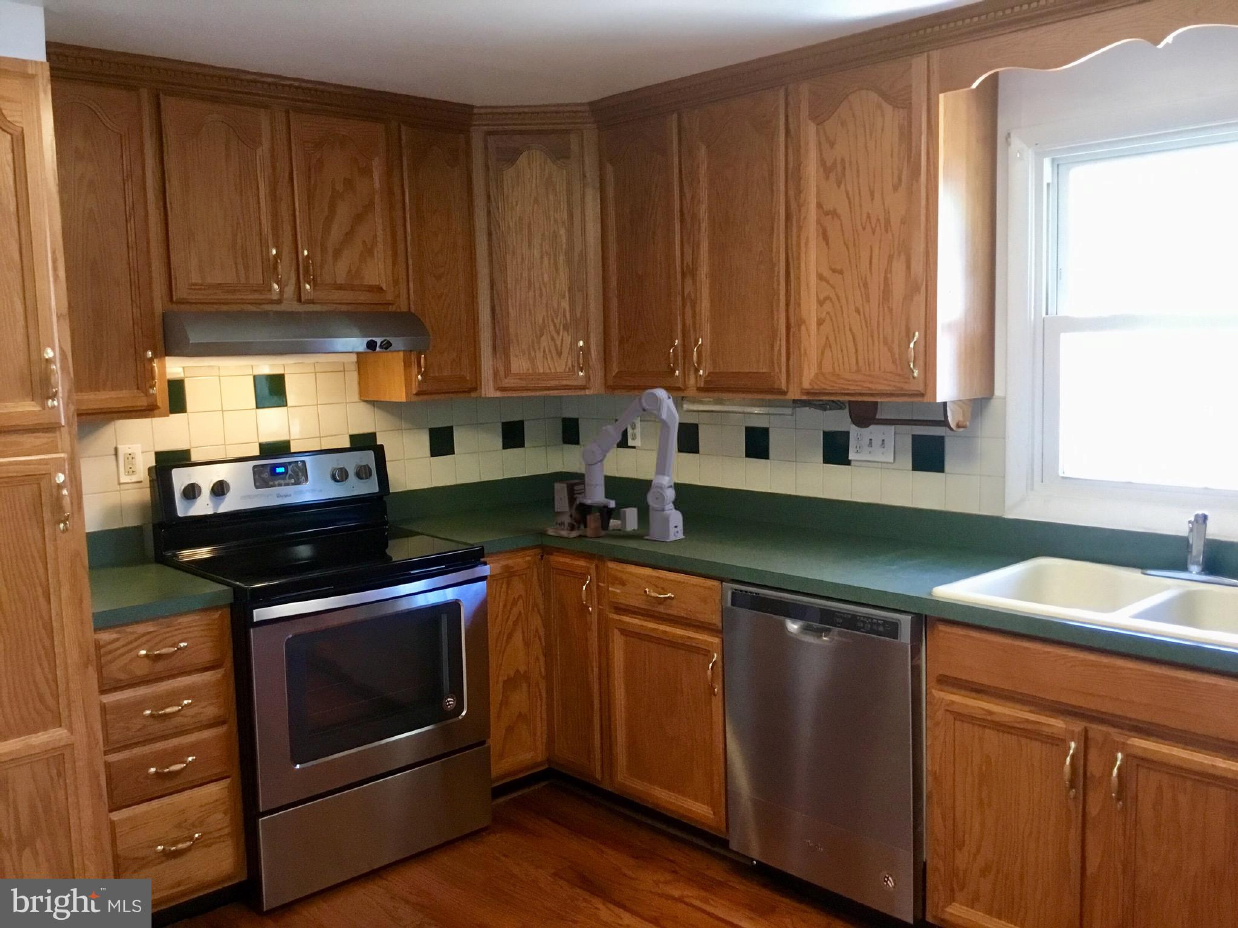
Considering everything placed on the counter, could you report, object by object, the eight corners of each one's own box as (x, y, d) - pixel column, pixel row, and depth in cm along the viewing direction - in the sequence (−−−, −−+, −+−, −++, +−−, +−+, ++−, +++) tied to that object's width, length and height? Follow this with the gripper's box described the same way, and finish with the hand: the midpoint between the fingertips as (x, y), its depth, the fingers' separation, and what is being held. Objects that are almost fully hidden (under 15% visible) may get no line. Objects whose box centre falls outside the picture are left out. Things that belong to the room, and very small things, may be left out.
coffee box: (571, 536, 330) (569, 483, 328) (555, 534, 333) (553, 482, 332) (590, 531, 337) (588, 480, 335) (574, 530, 341) (572, 478, 339)
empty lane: (640, 528, 340) (640, 507, 340) (623, 531, 335) (622, 510, 334) (603, 523, 352) (603, 503, 351) (586, 526, 346) (585, 506, 345)
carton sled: (614, 532, 332) (613, 511, 331) (583, 539, 322) (582, 517, 322) (577, 527, 343) (576, 507, 342) (546, 534, 334) (545, 513, 333)
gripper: (568, 484, 328) (569, 528, 330) (602, 487, 318) (604, 533, 320) (584, 481, 333) (586, 525, 335) (619, 484, 324) (620, 530, 325)
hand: (596, 529), depth 328 cm, fingers open, 7 cm apart
